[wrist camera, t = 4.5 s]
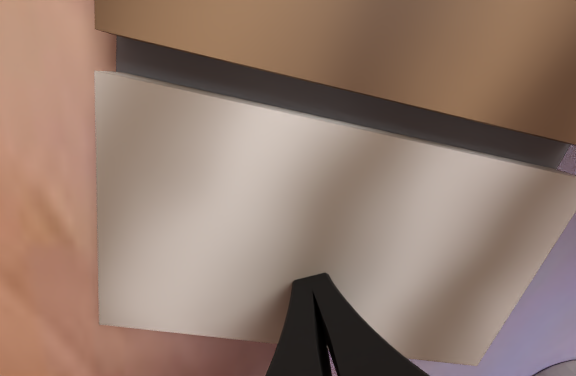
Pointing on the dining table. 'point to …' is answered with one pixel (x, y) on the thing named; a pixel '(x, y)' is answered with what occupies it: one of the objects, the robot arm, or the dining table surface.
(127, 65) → the underlay mat
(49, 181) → the dining table surface
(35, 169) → the dining table surface
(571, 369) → the coffee cup
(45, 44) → the dining table surface
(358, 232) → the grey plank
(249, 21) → the walnut boards
